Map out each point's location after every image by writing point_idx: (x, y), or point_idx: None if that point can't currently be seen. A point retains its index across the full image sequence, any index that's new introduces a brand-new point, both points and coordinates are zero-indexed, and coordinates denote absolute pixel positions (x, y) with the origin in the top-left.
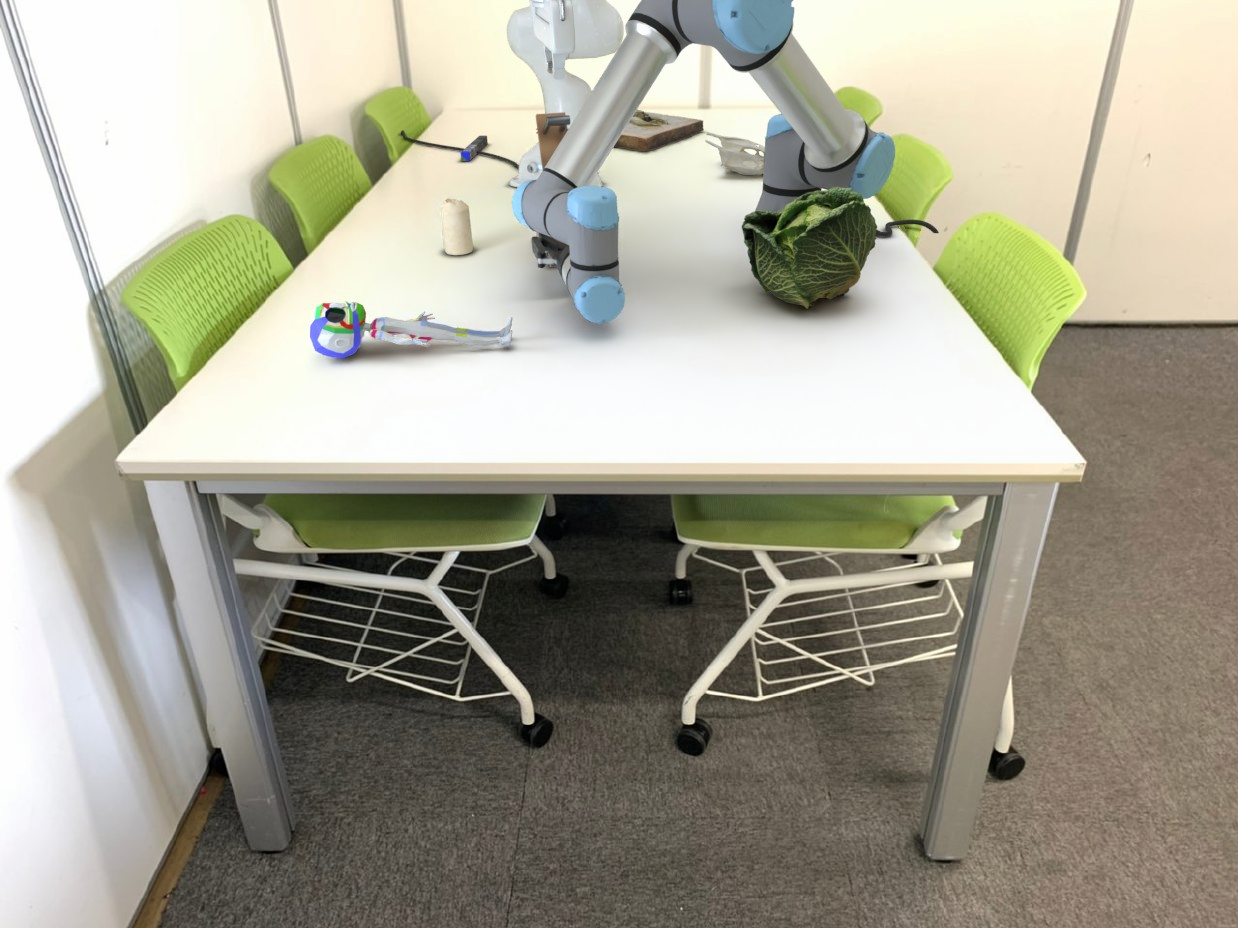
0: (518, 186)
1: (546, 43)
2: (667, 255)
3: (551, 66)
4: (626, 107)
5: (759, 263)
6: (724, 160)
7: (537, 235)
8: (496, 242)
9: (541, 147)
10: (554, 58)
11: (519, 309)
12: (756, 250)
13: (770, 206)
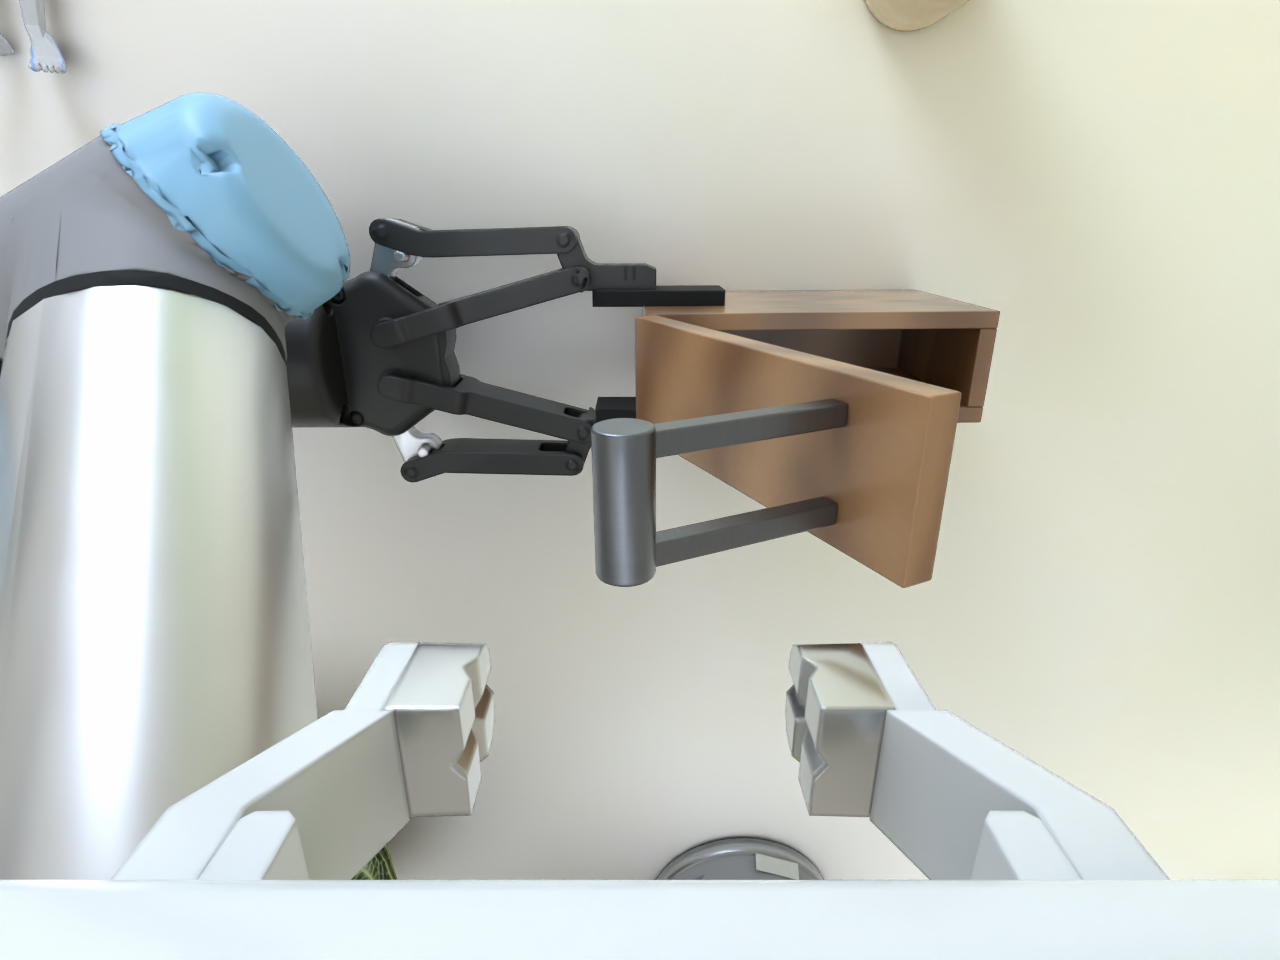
0: (188, 130)
1: (106, 958)
2: (655, 623)
3: (808, 717)
4: None
5: None
6: None
7: (905, 292)
8: (961, 139)
9: (783, 363)
10: (184, 819)
11: (309, 134)
12: None
13: None
